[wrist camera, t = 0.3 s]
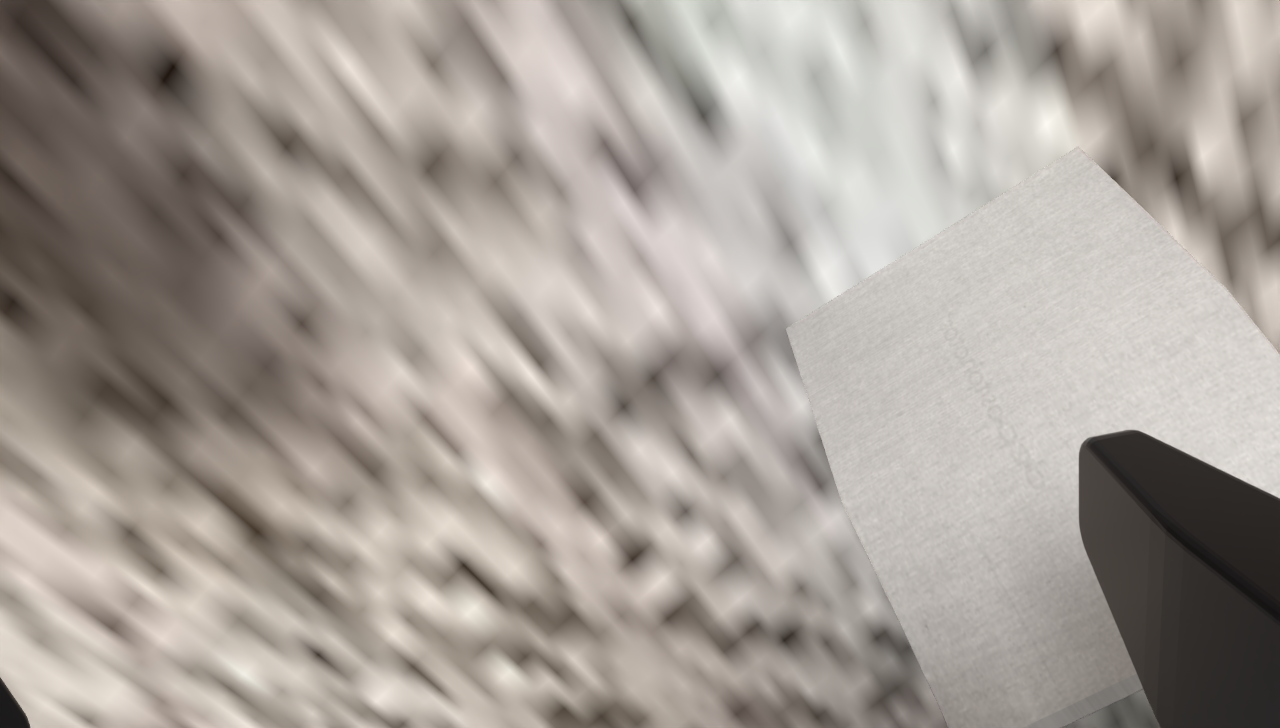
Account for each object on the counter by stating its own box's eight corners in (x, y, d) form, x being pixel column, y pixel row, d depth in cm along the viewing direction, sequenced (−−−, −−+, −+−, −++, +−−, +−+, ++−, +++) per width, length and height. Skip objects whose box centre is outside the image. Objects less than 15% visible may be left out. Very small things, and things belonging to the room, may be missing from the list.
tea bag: (785, 328, 24) (903, 692, 16) (1078, 145, 22) (1391, 446, 14) (871, 440, 26) (1019, 824, 17) (1149, 279, 24) (1467, 620, 16)
